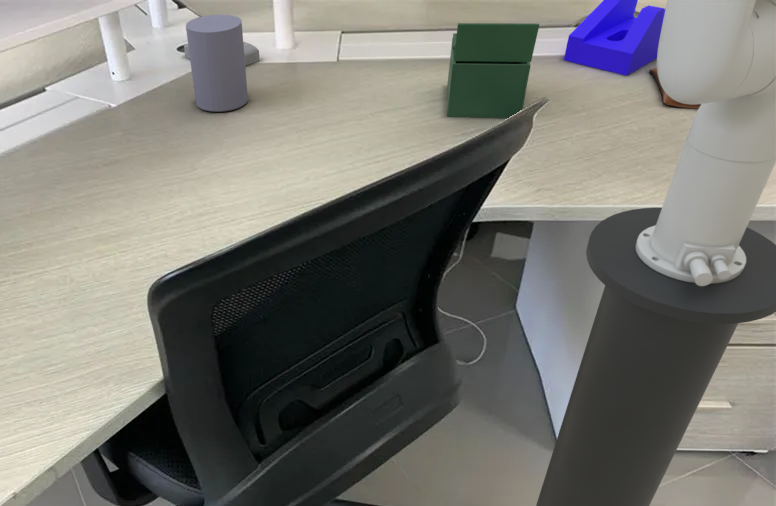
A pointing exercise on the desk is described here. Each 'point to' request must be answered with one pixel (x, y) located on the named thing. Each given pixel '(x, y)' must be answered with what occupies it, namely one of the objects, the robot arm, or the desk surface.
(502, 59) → the flap
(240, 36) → the container
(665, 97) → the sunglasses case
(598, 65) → the bracket
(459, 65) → the carton
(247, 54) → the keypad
